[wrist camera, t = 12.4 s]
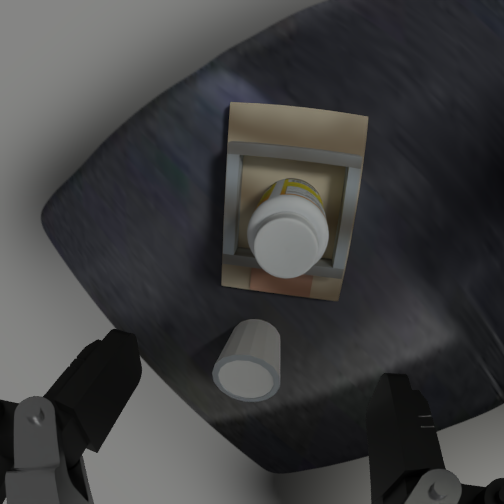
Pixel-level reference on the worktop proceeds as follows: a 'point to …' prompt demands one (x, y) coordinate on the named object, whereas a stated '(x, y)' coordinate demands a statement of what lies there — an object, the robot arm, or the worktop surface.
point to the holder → (291, 166)
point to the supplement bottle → (288, 229)
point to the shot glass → (250, 362)
